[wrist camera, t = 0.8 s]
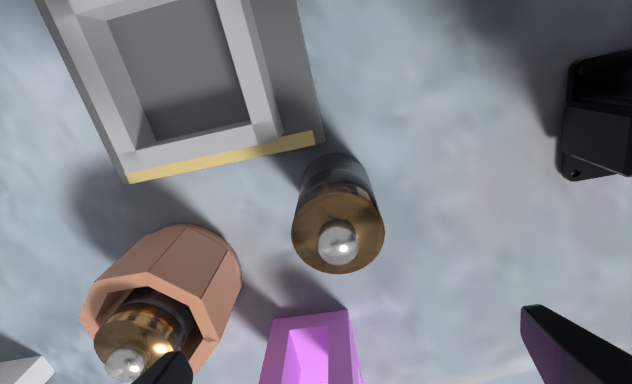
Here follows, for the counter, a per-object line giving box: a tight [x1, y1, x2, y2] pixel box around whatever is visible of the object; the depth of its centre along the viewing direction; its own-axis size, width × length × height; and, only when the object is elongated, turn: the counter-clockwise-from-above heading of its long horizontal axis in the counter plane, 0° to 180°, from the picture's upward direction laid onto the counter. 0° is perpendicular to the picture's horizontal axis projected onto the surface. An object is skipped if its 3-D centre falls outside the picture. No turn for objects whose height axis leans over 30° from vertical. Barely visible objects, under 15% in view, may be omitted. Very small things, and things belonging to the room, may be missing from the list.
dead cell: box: [94, 286, 196, 382], centre depth 18 cm, size 4×4×7 cm
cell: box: [291, 154, 385, 274], centre depth 16 cm, size 4×4×7 cm
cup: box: [79, 224, 242, 373], centre depth 19 cm, size 7×7×5 cm
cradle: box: [35, 0, 325, 185], centre depth 15 cm, size 12×10×3 cm
